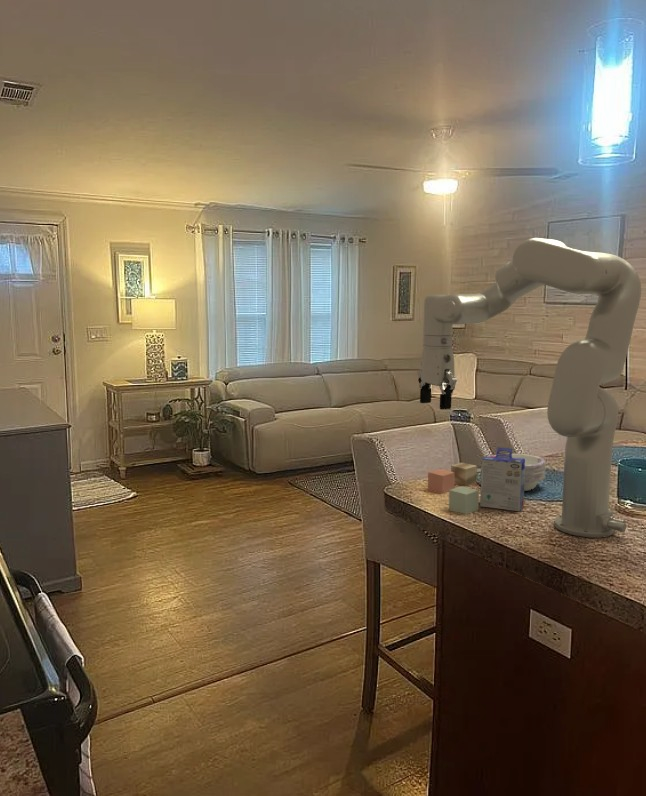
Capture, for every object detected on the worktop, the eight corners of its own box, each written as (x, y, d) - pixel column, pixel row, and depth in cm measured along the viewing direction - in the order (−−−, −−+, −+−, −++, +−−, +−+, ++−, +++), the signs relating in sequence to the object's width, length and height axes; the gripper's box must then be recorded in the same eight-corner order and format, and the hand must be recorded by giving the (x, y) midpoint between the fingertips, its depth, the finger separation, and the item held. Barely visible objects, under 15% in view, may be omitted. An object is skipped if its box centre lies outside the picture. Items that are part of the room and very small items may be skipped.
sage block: (478, 510, 154) (478, 490, 154) (465, 514, 151) (466, 494, 150) (461, 505, 158) (461, 486, 157) (448, 509, 155) (449, 490, 154)
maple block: (476, 483, 177) (476, 465, 176) (465, 486, 174) (465, 469, 173) (461, 479, 181) (462, 462, 180) (450, 482, 178) (451, 465, 177)
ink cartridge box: (524, 505, 157) (526, 448, 155) (521, 512, 152) (523, 453, 150) (484, 500, 161) (485, 445, 159) (479, 507, 156) (481, 449, 154)
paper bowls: (492, 476, 183) (493, 450, 182) (547, 482, 176) (549, 455, 175) (481, 491, 169) (482, 462, 168) (540, 498, 163) (542, 468, 162)
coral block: (454, 490, 171) (454, 472, 170) (442, 494, 167) (443, 475, 167) (439, 486, 174) (439, 468, 174) (427, 490, 171) (428, 472, 170)
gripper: (468, 344, 160) (465, 410, 163) (431, 339, 176) (429, 399, 179) (443, 345, 157) (441, 412, 160) (408, 339, 173) (406, 401, 176)
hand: (435, 405), depth 169 cm, fingers open, 9 cm apart
